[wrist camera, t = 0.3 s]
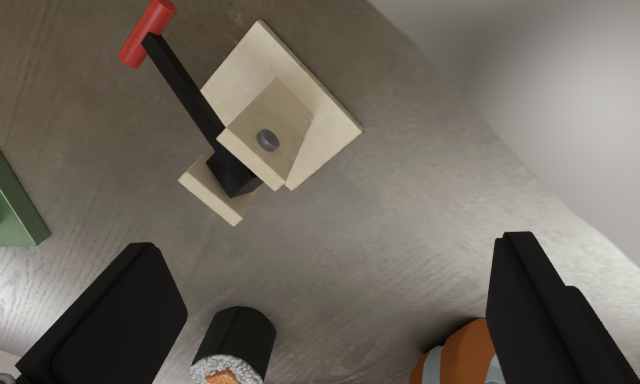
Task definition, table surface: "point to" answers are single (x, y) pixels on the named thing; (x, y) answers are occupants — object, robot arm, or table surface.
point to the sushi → (235, 348)
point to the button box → (17, 213)
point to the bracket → (268, 121)
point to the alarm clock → (461, 359)
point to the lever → (186, 94)
